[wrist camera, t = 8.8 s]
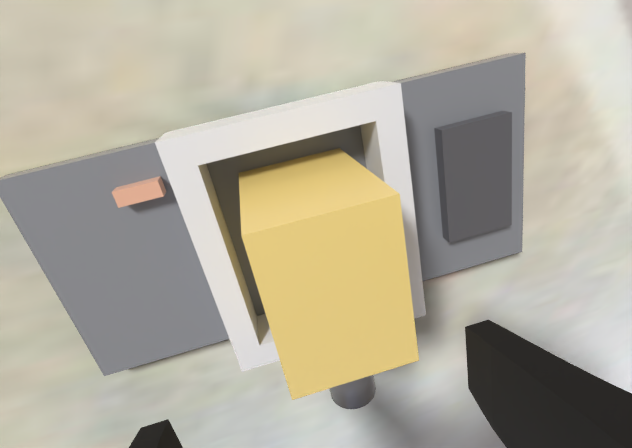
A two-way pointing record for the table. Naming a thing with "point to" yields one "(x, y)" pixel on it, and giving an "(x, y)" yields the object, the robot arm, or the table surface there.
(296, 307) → the plug
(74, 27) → the table surface
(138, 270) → the grey boxy piece
